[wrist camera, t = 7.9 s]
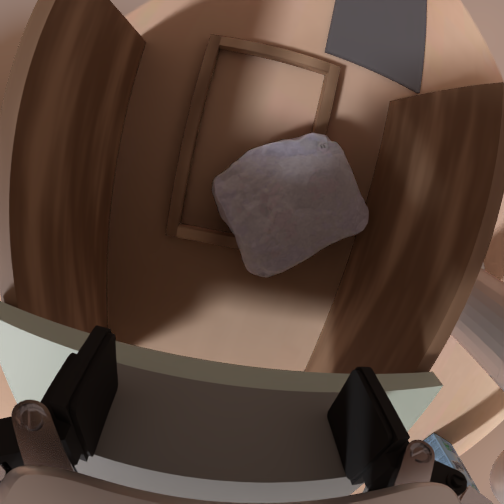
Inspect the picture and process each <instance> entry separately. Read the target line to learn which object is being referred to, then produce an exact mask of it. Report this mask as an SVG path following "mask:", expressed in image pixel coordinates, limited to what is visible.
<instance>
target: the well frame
mask: <svg viewBox="0 0 504 504" xmlns="http://www.w3.org/2000/svg"><path fill="white" fill-rule="evenodd" d="M145 44H146V42H145V40H144V39H143V38H142V37H141V36H140V35H139V33H138V32H137V31H136V30H135V29H134V27H133V26H132V25H131V24H130V23H129V22H128V20H127V19H126V18H125V17H124V16H123V15H122V14H121V12H120V11H119V10H118V9H117V8H116V7H115V6H114V5H113V3H112V2H111V1H110V0H38V1H37V3H36V5H35V7H34V9H33V12H32V14H31V16H30V18H29V21H28V23H27V26H26V28H25V30H24V33H23V36H22V38H21V41H20V44H19V46H18V49H17V53H16V55H15V58H14V61H13V65H12V68H11V71H10V76H9V79H8V82H7V87H6V90H5V95H4V99H3V104H2V109H1V114H0V294H1V299H2V302H4V303H6V304H9V305H11V306H13V307H16V308H18V309H21V310H23V311H26V312H28V313H31V314H34V315H36V316H39V317H42V318H45V319H47V320H50V321H53V322H56V323H59V324H62V325H65V326H68V327H71V328H74V329H77V330H80V331H84V332H87V333H91V331H92V330H93V328H94V327H95V326H96V325H98V326H102V327H105V328H107V251H108V234H109V221H110V210H111V200H112V192H113V184H114V176H115V169H116V163H117V157H118V151H119V145H120V140H121V135H122V130H123V125H124V120H125V116H126V111H127V107H128V103H129V99H130V95H131V91H132V87H133V83H134V80H135V76H136V73H137V69H138V66H139V62H140V59H141V56H142V53H143V50H144V47H145ZM220 49H221V50H227V51H233V52H239V53H244V54H249V55H253V56H258V57H262V58H267V59H271V60H275V61H279V62H283V63H286V64H290V65H294V66H297V67H301V68H304V69H307V70H310V71H314V72H317V73H320V74H323V75H325V77H324V81H323V86H322V90H321V95H320V99H319V103H318V108H317V112H316V116H315V121H314V125H313V129H312V133H317V134H322V135H326V132H327V127H328V123H329V119H330V115H331V110H332V106H333V101H334V97H335V92H336V88H337V83H338V78H339V73H340V69H341V67H340V66H337V65H334V64H332V63H329V62H326V61H323V60H320V59H317V58H314V57H311V56H307V55H304V54H301V53H297V52H294V51H290V50H287V49H283V48H279V47H275V46H271V45H267V44H262V43H258V42H253V41H248V40H243V39H238V38H232V37H226V36H220V35H213V34H211V36H210V39H209V42H208V45H207V48H206V52H205V55H204V58H203V62H202V65H201V69H200V72H199V76H198V79H197V83H196V87H195V91H194V94H193V98H192V102H191V106H190V110H189V114H188V119H187V123H186V127H185V132H184V136H183V141H182V145H181V150H180V155H179V160H178V165H177V170H176V175H175V181H174V186H173V192H172V198H171V204H170V210H169V216H168V223H167V230H166V235H169V236H174V237H179V238H184V239H189V240H194V241H199V242H204V243H210V244H215V245H220V246H225V247H230V248H235V249H239V248H238V245H237V242H236V238H235V235H234V234H232V233H227V232H222V231H217V230H212V229H207V228H202V227H197V226H192V225H186V224H181V223H180V221H181V215H182V209H183V204H184V198H185V192H186V187H187V182H188V177H189V172H190V167H191V162H192V157H193V152H194V147H195V143H196V138H197V134H198V130H199V125H200V121H201V117H202V113H203V109H204V105H205V101H206V97H207V93H208V89H209V85H210V82H211V78H212V74H213V71H214V67H215V64H216V60H217V57H218V53H219V50H220ZM503 193H504V83H492V84H483V85H475V86H468V87H461V88H454V89H448V90H442V91H437V92H431V93H426V94H421V95H416V96H412V97H407V98H402V99H398V100H394V101H390V104H389V109H388V114H387V120H386V124H385V129H384V134H383V138H382V143H381V147H380V152H379V156H378V160H377V164H376V168H375V172H374V176H373V180H372V183H371V187H370V191H369V195H368V198H367V202H366V206H367V207H368V211H369V219H368V224H367V225H366V227H365V229H364V230H363V231H361V232H360V233H358V234H357V235H356V238H355V241H354V244H353V248H352V251H351V254H350V257H349V260H348V262H347V265H346V268H345V271H344V274H343V277H342V280H341V282H340V285H339V288H338V291H337V293H336V296H335V299H334V301H333V304H332V307H331V309H330V312H329V314H328V317H327V319H326V322H325V324H324V327H323V329H322V332H321V334H320V337H319V339H318V341H317V344H316V346H315V348H314V351H313V353H312V355H311V358H310V360H309V362H308V364H307V367H306V369H305V371H304V372H317V373H341V374H350V373H351V372H352V370H355V368H356V367H371V368H372V369H373V371H374V373H375V374H398V373H420V372H429V371H430V369H431V368H432V366H433V364H434V363H435V361H436V359H437V358H438V356H439V354H440V353H441V351H442V349H443V347H444V346H445V344H446V342H447V340H448V338H449V337H450V335H451V333H452V331H453V329H454V327H455V325H456V323H457V321H458V319H459V317H460V315H461V313H462V311H463V309H464V307H465V305H466V303H467V300H468V298H469V296H470V294H471V291H472V289H473V287H474V284H475V282H476V279H477V277H478V274H479V272H480V269H481V267H482V264H483V261H484V259H485V256H486V253H487V250H488V247H489V244H490V241H491V238H492V235H493V231H494V228H495V225H496V221H497V217H498V214H499V210H500V206H501V202H502V198H503Z"/></svg>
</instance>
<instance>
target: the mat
mask: <svg viewBox="0 0 504 504" xmlns="http://www.w3.org/2000/svg"><path fill="white" fill-rule="evenodd" d="M426 5H427V0H336V1H335V5H334V10H333V15H332V20H331V25H330V30H329V34H328V39H327V44H326V48H325V53H328V54H331V55H334V56H337V57H339V58H342V59H345V60H347V61H350V62H352V63H355V64H357V65H360V66H362V67H364V68H367V69H369V70H371V71H374V72H376V73H378V74H380V75H382V76H384V77H387V78H389V79H391V80H393V81H395V82H397V83H399V84H401V85H403V86H405V87H406V88H408V89H410V90H412V91H414V92H416V93H420V87H421V80H422V71H423V62H424V51H425V36H426Z"/></svg>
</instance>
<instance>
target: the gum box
mask: <svg viewBox="0 0 504 504" xmlns="http://www.w3.org/2000/svg"><path fill="white" fill-rule="evenodd" d="M424 441H425V442H426V443H428V444H429V445H430V446H431V447H432V448H433V450H434V453H435V460H436V461H438V462H440V463H443V464H445V465H447V466H449V467H451V468H454V469H456V470H458V471H460V472H462V473H463V474H464V476H465V477H466V480H467V487H468V486H469V485H470V486H472V487H473V488H474V489H475V490H477V491H478V492H479V490H478V489H477V487H476V485H475V483H474V481H473V480H472V478H471V476H470V475H469V473H468V471H467V469H466V468H465V466H464V464H463V463H462V461H461V459H460V458H459V456H458V454H457V453H456V451H455V449H454V448H453V446H452V444H451V443H449V442H448V441H446V440H445V439H443V438H441V437H440V436H438V435H437V434H435V433H433V434H432V435H430V436H429V437H428V438H426V439H425V440H424ZM479 493H480V492H479Z"/></svg>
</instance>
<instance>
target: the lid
mask: <svg viewBox="0 0 504 504" xmlns="http://www.w3.org/2000/svg"><path fill="white" fill-rule="evenodd" d="M89 334H90V333H87V332H84V331H80V330H77V329H74V328H71V327H68V326H65V325H62V324H59V323H56V322H53V321H50V320H47V319H45V318H42V317H39V316H36V315H34V314H31V313H28V312H26V311H23V310H21V309H18V308H16V307H13V306H11V305H9V304H6V303H4V302H1V301H0V364H1V367H2V369H3V372H4V374H5V377H6V379H7V382H8V384H9V386H10V389H11V391H12V393H13V395H14V398H15V400H16V402H17V404H18V403H19V402H21V401H24V400H36V401H39V402H40V401H41V400H42V398H43V396H44V395H45V393H46V391H47V389H48V388H49V386H50V384H51V383H52V381H53V380H54V378H55V376H56V375H57V373H58V371H59V370H60V368H61V367H62V365H63V364H64V362H65V360H66V359H67V357H68V356H69V355H70V354H71V353H76V354H77V353H78V352H79V350H80V348H81V347H82V345H83V344H84V342H85V341H86V339H87V338H88V336H89ZM116 360H117V374H118V389H117V392H116V395H115V397H114V400H113V402H112V405H111V408H110V411H109V413H108V416H107V419H106V421H105V424H104V427H103V430H102V433H101V436H100V439H99V441H98V444H97V447H96V450H95V453H94V456H93V457H91V456H89V457H88V460H87V462H85V461H83V460H80V459H79V462H78V464H77V465H75V467H76V469H77V471H78V473H81V474H85V475H88V476H91V477H95V478H98V479H102V480H106V481H109V482H112V483H116V484H120V485H123V486H127V487H131V488H136V489H140V490H145V491H149V492H154V493H159V494H164V495H170V496H176V497H182V498H189V499H197V500H206V501H218V502H233V503H285V502H301V501H312V500H321V499H329V498H336V497H343V496H349V495H350V494H351V493H353V492H354V491H355V490H356V489H358V488H359V487H360V486H361V485H362V484H363V483H362V484H357V485H352V484H351V481H350V480H349V479H348V478H347V477H346V474H345V471H344V467H343V464H342V461H341V458H340V455H339V452H338V449H337V446H336V443H335V440H334V437H333V434H332V430H331V427H330V424H329V421H328V418H327V413H328V410H329V409H330V407H331V405H332V404H333V402H334V401H335V399H336V397H337V396H338V394H339V392H340V391H341V389H342V387H343V385H344V384H345V382H346V380H347V378H348V377H349V375H350V374H341V373H317V372H301V371H289V370H277V369H267V368H258V367H250V366H242V365H235V364H228V363H221V362H214V361H208V360H202V359H197V358H191V357H186V356H180V355H175V354H170V353H165V352H161V351H156V350H152V349H147V348H143V347H139V346H135V345H131V344H127V343H123V342H119V341H116ZM375 375H376V376H377V378H378V380H379V382H380V383H381V385H382V387H383V389H384V390H385V392H386V394H387V396H388V398H389V399H390V401H391V403H392V405H393V407H394V408H395V410H396V412H397V414H398V416H399V418H400V419H401V421H402V423H403V425H404V427H405V429H406V431H407V432H408V430H409V429H410V428H411V427H412V426H413V424H414V423H415V422H416V421H417V420H418V418H419V417H420V416H421V415H422V413H423V412H424V411H425V410H426V408H427V407H428V406H429V404H430V403H431V402H432V400H433V399H434V398H435V396H436V395H437V393H438V392H439V391H440V389H441V388H442V386H443V385H442V383H441V382H440V381H439V379H438V378H437V377H436V375H435V374H434V373H433V372H420V373H398V374H375ZM364 483H365V482H364Z"/></svg>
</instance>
